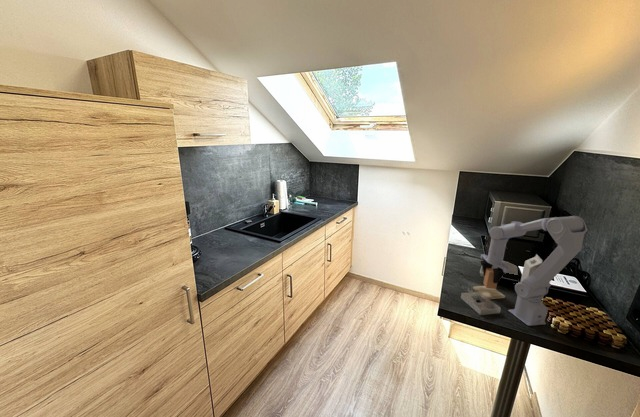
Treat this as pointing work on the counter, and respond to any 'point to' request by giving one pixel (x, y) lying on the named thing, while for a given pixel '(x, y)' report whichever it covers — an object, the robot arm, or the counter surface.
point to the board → (489, 292)
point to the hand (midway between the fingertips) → (490, 279)
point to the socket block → (484, 306)
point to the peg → (489, 279)
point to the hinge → (512, 267)
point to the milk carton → (531, 267)
